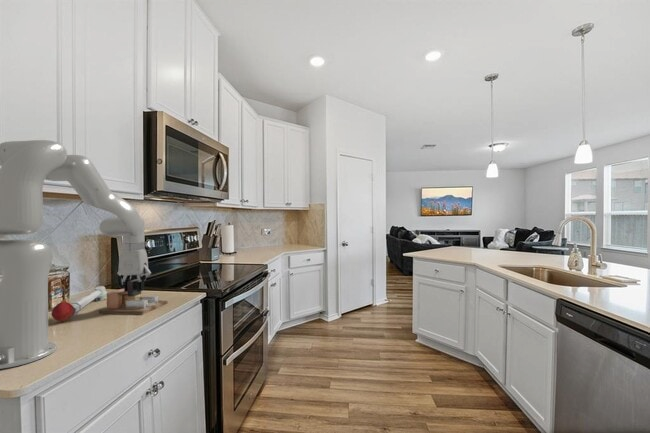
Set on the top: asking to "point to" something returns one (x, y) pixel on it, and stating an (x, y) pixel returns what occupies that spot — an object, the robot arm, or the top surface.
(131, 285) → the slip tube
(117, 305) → the socket block
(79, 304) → the white rod
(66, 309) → the onion
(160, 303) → the base board
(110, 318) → the top surface
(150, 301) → the guide sleeve
